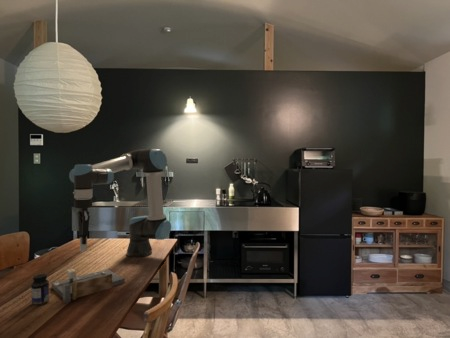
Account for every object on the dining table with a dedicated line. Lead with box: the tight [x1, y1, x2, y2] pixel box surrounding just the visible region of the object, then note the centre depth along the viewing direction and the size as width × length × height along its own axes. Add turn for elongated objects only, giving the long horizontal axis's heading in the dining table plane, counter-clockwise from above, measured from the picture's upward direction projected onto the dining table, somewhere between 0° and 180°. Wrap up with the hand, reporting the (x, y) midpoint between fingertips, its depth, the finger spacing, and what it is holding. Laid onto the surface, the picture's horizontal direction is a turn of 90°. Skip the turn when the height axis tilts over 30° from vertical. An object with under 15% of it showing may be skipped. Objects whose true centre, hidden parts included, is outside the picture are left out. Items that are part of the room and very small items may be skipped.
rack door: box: [71, 274, 113, 301], centre depth 134 cm, size 17×2×7 cm, turn 135°
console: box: [51, 268, 125, 299], centre depth 143 cm, size 26×18×3 cm
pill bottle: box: [30, 273, 50, 307], centre depth 125 cm, size 6×6×11 cm
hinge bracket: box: [62, 283, 72, 304], centre depth 126 cm, size 2×3×7 cm, turn 45°
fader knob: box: [66, 268, 77, 282], centre depth 142 cm, size 2×4×5 cm, turn 44°
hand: (83, 250), depth 140 cm, fingers closed
